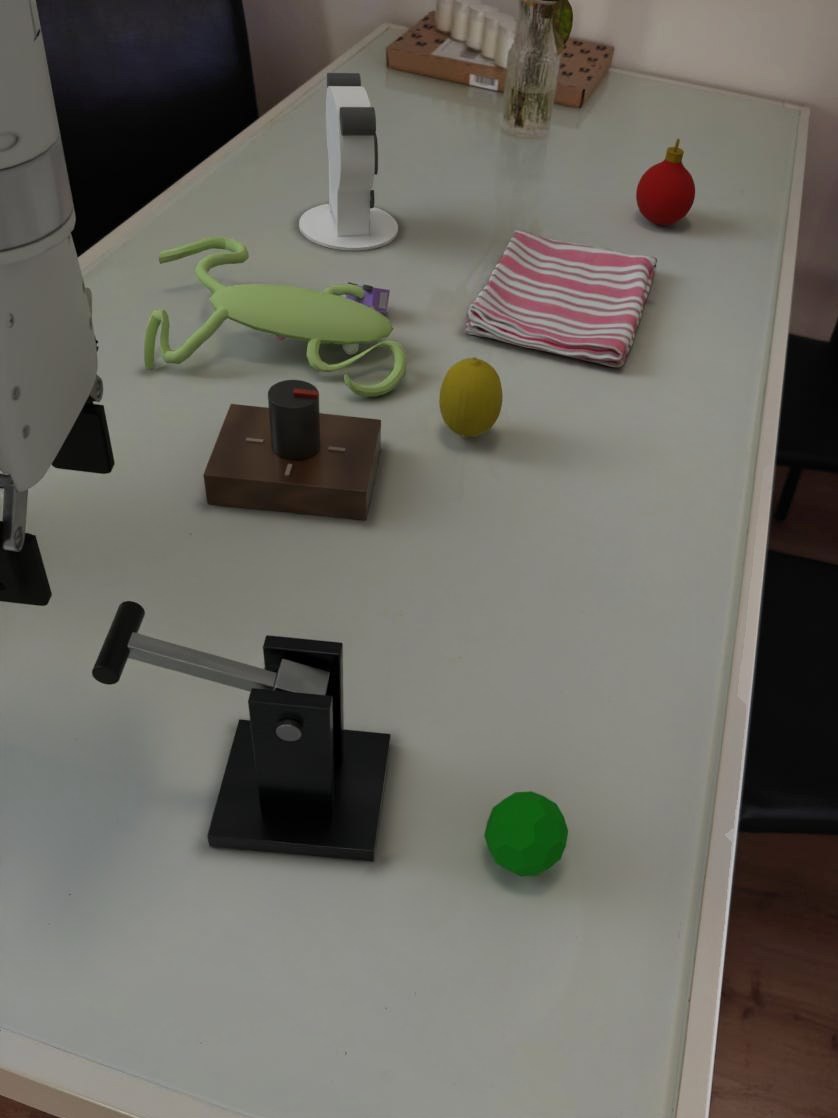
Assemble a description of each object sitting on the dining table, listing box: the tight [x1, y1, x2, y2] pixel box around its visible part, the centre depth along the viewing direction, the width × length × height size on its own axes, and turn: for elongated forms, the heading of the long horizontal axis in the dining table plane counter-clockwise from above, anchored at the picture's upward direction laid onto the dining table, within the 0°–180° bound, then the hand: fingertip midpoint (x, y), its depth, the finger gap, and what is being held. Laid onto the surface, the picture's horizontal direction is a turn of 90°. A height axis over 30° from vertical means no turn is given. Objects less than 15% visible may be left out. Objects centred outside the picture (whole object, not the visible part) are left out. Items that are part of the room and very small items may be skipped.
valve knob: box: [267, 379, 321, 460], centre depth 83 cm, size 4×4×5 cm
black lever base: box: [206, 634, 392, 863], centre depth 61 cm, size 10×9×12 cm
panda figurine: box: [298, 72, 399, 252], centre depth 113 cm, size 12×11×15 cm
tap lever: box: [91, 600, 330, 695], centre depth 57 cm, size 12×5×2 cm, turn 87°
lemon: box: [438, 357, 504, 439], centre depth 90 cm, size 6×6×8 cm
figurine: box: [143, 236, 408, 398], centre depth 100 cm, size 18×27×6 cm
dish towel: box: [464, 229, 658, 368], centre depth 110 cm, size 17×23×4 cm
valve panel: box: [202, 403, 382, 521], centre depth 86 cm, size 13×10×3 cm
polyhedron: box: [483, 790, 569, 877], centre depth 62 cm, size 5×5×5 cm
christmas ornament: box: [635, 138, 696, 226], centre depth 124 cm, size 7×7×10 cm
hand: (52, 528), depth 51 cm, fingers open, 9 cm apart
